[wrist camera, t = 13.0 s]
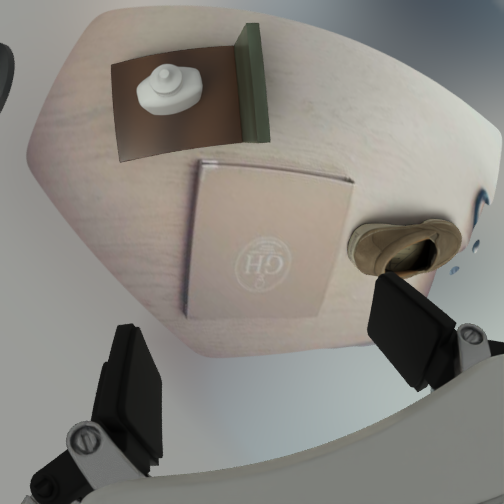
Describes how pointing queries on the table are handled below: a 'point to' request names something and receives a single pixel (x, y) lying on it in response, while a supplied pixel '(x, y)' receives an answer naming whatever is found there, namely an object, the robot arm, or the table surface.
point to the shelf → (203, 112)
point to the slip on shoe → (404, 247)
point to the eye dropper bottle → (170, 89)
